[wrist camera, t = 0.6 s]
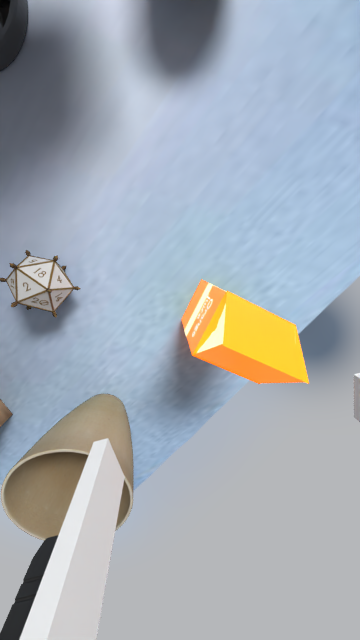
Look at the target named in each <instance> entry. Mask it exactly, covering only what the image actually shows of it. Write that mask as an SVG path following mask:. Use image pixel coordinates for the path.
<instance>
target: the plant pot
mask: <svg viewBox="0 0 360 640" xmlns="http://www.w3.org/2000/svg"><path fill="white" fill-rule="evenodd" d="M107 438H108V439H109V441H110V444H111V446H112V448H113V451H114V453H115V455H116V458H117V460H118V462H119V465H120V467H121V469H122V472H123V474H124V476H125V478H124V483H123V489H122V495H121V501H120V506H119V512H118V518H117V523H116V529H115V531H116V530H117V529H118V528H119V527H120V526H121V525H122V524H123V523H124V522H125V521H126V519H127V518H128V516H129V514H130V512H131V509H132V505H133V450H132V440H131V433H130V427H129V422H128V417H127V413H126V410H125V407H124V405H123V403H122V402H121V400H120V399H118V398H117V397H115V396H113V395H110V394H99V395H96V396H94V397H92V398H90V399H88V400H87V401H85V402H84V403H82V404H81V405H79V406H78V407H76V408H75V409H74V410H72V411H71V412H70V413H69V414H67V415H66V416H65V417H64V418H62V419H61V420H60V421H59V422H58V423H57V424H55V425H54V426H53V427H52V428H51V429H50V430H49V431H48V432H47V433H46V434H45V435H44V436H43V437H42V438H41V439H40V440H39V441H38V442H36V444H35V445H34V446H33V447H32V448H31V449H30V450H29V451H28V452H27V453H26V454H25V455H24V456H23V457H22V458H21V459H20V460H19V461H18V462H17V464H16V465H15V466H14V467H13V468H12V469H11V470H10V471H9V473H8V474H7V476H6V478H5V480H4V482H3V485H2V489H1V501H2V505H3V508H4V510H5V512H6V514H7V516H8V517H9V518H10V520H11V521H12V522H13V523H14V524H15V525H16V526H17V527H19V528H20V529H21V530H23V531H24V532H26V533H27V534H29V535H31V536H33V537H36V538H38V539H41V540H44V541H45V539H46V538H49V537H53V536H56V535H59V533H60V530H61V527H62V525H63V522H64V520H65V517H66V514H67V512H68V509H69V506H70V504H71V501H72V498H73V496H74V493H75V490H76V488H77V485H78V482H79V480H80V477H81V474H82V472H83V469H84V466H85V464H86V461H87V458H88V456H89V453H90V450H91V448H92V445H93V442H95V441H99V440H103V439H107Z"/></svg>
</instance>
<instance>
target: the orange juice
mask: <svg viewBox="0 0 360 640" xmlns="http://www.w3.org/2000/svg"><path fill="white" fill-rule="evenodd" d="M181 320H182V323H183V326H184V331H185V335H186V337H187V340H188V343H189V347H190V350H191V354H192V356H194V357H197V358H199V359H202V360H204V361H206V362H209V363H211V364H213V365H216V366H218V367H220V368H223V369H225V370H228V371H230V372H232V373H235V374H237V375H239V376H242V377H244V378H247V379H249V380H251V381H254V382H256V383H258V384H260V383H286V382H287V383H288V382H306V383H308V384H309V382H308V377H307V372H306V368H305V364H304V359H303V355H302V351H301V347H300V342H299V338H298V333H297V329H296V325H294V324H292V323H290V322H288V321H286V320H284V319H282V318H280V317H278V316H276V315H274V314H272V313H270V312H268V311H266V309H265V310H264V309H262V307H261V308H260V307H258V306H256V305H254V304H252V303H250V302H248V301H246V300H244V299H242V298H240V297H238V296H236V295H234V294H232V293H230V292H228V291H227V292H226V291H224V290H222V289H220V288H218V287H216V286H214V285H212V284H210V283H208V282H206V281H204V280H202V279H201V281H200V283H199V285H198V287H197V289H196V291H195V293H194V295H193V297H192V299H191V301H190V303H189V305H188V307H187V309H186V311H185V313H184V315H183V317H182V319H181Z"/></svg>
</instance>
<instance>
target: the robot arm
mask: <svg viewBox="0 0 360 640" xmlns="http://www.w3.org/2000/svg"><path fill="white" fill-rule="evenodd" d="M27 20H28V7H27V0H0V71H1V70H3V69H4V68H5V67H7V66H8V65H9V64H10V63H11V62H12V61H13V60H14V58H15V57H16V56H17V54H18V52H19V50H20V48H21V46H22V44H23V41H24V38H25V34H26V29H27ZM354 417H355V418H356V419H357V420H358V421H359V422H360V373H358V374H354ZM124 478H125V476H124V474H123V472H122V469H121V467H120V465H119V462H118V460H117V458H116V455H115V453H114V451H113V448H112V446H111V444H110V441H109V439H108V438H107V439H103V440H99V441H95V442H93V445H92V448H91V450H90V453H89V456H88V458H87V461H86V464H85V466H84V469H83V472H82V474H81V477H80V480H79V482H78V485H77V488H76V490H75V493H74V496H73V498H72V501H71V504H70V506H69V509H68V512H67V514H66V517H65V520H64V522H63V525H62V527H61V530H60V533H59V535H56V536H53V537H49V538H46V539H45V541H44V542H43V544H42V545H41V547H40V548H39V550H38V551H37V553H36V554H35V556H34V557H33V559H32V561H31V564H30V566H29V568H28V570H27V573H26V575H25V577H24V582H23V584H21V587H20V589H19V591H18V594H17V596H16V598H15V603H14V604H13V605H12V607H11V610H10V612H9V614H8V617H7V619H6V621H5V624H4V626H3V628H2V631H1V633H0V640H96V638H97V632H98V626H99V620H100V615H101V609H102V604H103V598H104V592H105V587H106V581H107V575H108V568H109V563H110V558H111V552H112V546H113V540H114V535H115V529H116V523H117V518H118V512H119V506H120V501H121V495H122V489H123V483H124Z"/></svg>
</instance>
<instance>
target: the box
mask: <svg viewBox="0 0 360 640" xmlns="http://www.w3.org/2000/svg"><path fill="white" fill-rule="evenodd" d="M12 415H13V414H12V413H11V412H10V410H9V409H8V408H7V407H6V406H5V404H4V403H3V402H2V401H1V400H0V427H1V426H2V425H3V424H4V423H5V422H6V421H7V420H8V419H9V418H10V417H11V416H12Z"/></svg>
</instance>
